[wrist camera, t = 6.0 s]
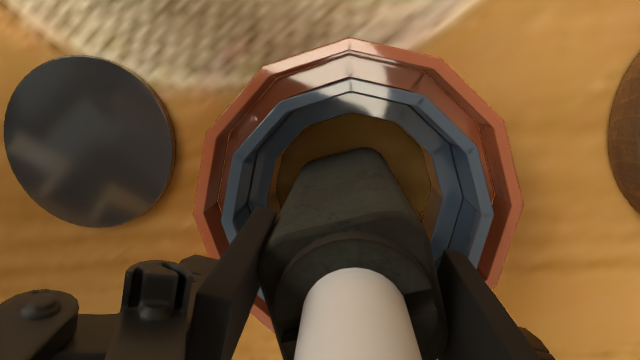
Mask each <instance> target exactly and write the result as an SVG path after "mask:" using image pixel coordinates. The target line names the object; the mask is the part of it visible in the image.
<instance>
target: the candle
mask: <svg viewBox="0 0 640 360" xmlns="http://www.w3.org/2000/svg"><path fill="white" fill-rule="evenodd" d="M257 273H258V279H259V283H260V286H261V290H262V293H263V296H264V299H265V302H266V305H267V309H268V312H269V315H270V318H271V321H272V325H273V328H274V331H275V334H276V337H277V340H278V344H279V347H280V350H281V353H282V356H283V360H437V359H438V358H439V357H440V355H441V354H442V353H443V351H444V350H445V348H446V346H447V343H448V338H449V327H448V321H447V317H446V312H445V308H444V303H443V299H442V295H441V290H440V286H439V281H438V277H437V272H436V268H435V264H434V259H433V255H432V250H431V246H430V241H429V239H428V236H427V233H426V231H425V229H424V227H423V226H422V224H421V222H420V220H419V219H418V217H417V215H416V214H415V212H414V210H413V208H412V207H411V205H410V203H409V201H408V200H407V198H406V196H405V194H404V193H403V191H402V189H401V188H400V186H399V184H398V182H397V181H396V179H395V177H394V175H393V174H392V172H391V170H390V168H389V167H388V165H387V163H386V161H385V160H384V158H383V157H382V155H381V154H380V153H379V152H377V151H376V150H374V149H371V148H359V149H355V150H351V151H347V152H343V153H340V154H336V155H332V156H328V157H324V158H320V159H316V160H313V161H310V162H308V163H307V164H305V165H304V166H303V167H302V169H301V170H300V172H299V174H298V177H297V179H296V181H295V183H294V185H293V187H292V189H291V191H290V193H289V195H288V198H287V200H286V202H285V204H284V206H283V208H282V210H281V212H280V214H279V216H278V218H277V221H276V223H275V225H274V227H273V229H272V231H271V233H270V235H269V237H268V239H267V242H266V244H265V246H264V248H263V250H262V252H261V255H260V257H259V261H258V267H257Z"/></svg>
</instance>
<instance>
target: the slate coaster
mask: <svg viewBox="0 0 640 360" xmlns="http://www.w3.org/2000/svg"><path fill="white" fill-rule="evenodd" d="M4 142H5V149H6V153H7V157H8V160H9V163H10V165H11V168H12V170H13V172H14V174H15V176H16V178H17V180H18V181H19V183H20V184H21V186H22V187H23V189H24V190H25V191H26V192H27V193H28V195H29V196H30V197H31V198H32V199H33V200H34V201H35V202H36V203H37V204H38V205H40V206H41V207H42V208H43V209H45V210H46V211H48V212H49V213H51V214H52V215H54V216H56V217H58V218H60V219H62V220H64V221H67V222H69V223H72V224H76V225H79V226H85V227H94V228H103V227H112V226H117V225H121V224H124V223H127V222H129V221H131V220H133V219H135V218H137V217H139V216H140V215H142V214H143V213H145V212H146V211H147V210H149V209H150V208H151V207H152V206H153V205H154V204H155V203H156V202H157V201H158V200H159V199H160V197H161V196H162V195H163V193H164V192H165V190H166V188H167V186H168V184H169V182H170V179H171V176H172V174H173V169H174V165H175V155H176V148H175V137H174V132H173V128H172V124H171V121H170V118H169V116H168V114H167V111H166V109H165V107H164V106H163V104H162V102H161V101H160V99H159V97H158V96H157V95H156V93H155V92H154V91H153V90H152V88H151V87H150V86H149V85H148V84H147V83H146V82H145V81H144V80H143V79H141V78H140V77H139V76H138V75H136V74H135V73H134V72H132V71H131V70H129V69H127V68H126V67H124V66H122V65H120V64H118V63H116V62H113V61H110V60H107V59H104V58H100V57H93V56H86V55H71V56H63V57H59V58H56V59H52V60H50V61H48V62H45V63H43V64H41V65H40V66H38V67H37V68H35V69H34V70H32V71H31V72H30V73H29V74H28V75H27V76H25V77H24V79H23V80H22V81H21V82H20V83H19V85H18V86H17V87H16V89H15V91H14V92H13V94H12V96H11V99H10V101H9V103H8V106H7V110H6V114H5V120H4Z"/></svg>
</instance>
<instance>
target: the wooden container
mask: <svg viewBox="0 0 640 360" xmlns="http://www.w3.org/2000/svg"><path fill="white" fill-rule="evenodd" d="M608 145H609V156H610V161H611V165H612V169H613V172H614V175H615V178H616V180H617V183H618V185H619V187H620V189H621V191H622V192H623V194H624V195H625V197H626V198H627V200H628V201H629V202H630V204H631V205H632V206H633V207H634V208H635V209H636V210H637V211H638V212H639V213H640V53H639V54H638V56H637V57H636V59H635V60H634V62H633V63H632V65H631V66H630V68H629V70H628V71H627V73H626V75H625V77H624V79H623V81H622V83H621V85H620V87H619V90H618V92H617V95H616V97H615V100H614V103H613V107H612V112H611V116H610V122H609V135H608Z"/></svg>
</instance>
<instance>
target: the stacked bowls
mask: <svg viewBox="0 0 640 360" xmlns="http://www.w3.org/2000/svg"><path fill="white" fill-rule="evenodd" d="M348 54H349V55H348ZM350 54H351V55H350ZM345 55H346V56H345ZM342 56H343V57H342ZM359 56H360V57H359ZM339 57H340V58H339ZM363 57H364V58H363ZM368 58H369V59H368ZM372 59H373V60H372ZM377 60H378V61H377ZM381 61H382V62H381ZM390 63H391V64H390ZM394 64H395V65H394ZM399 65H400V66H399ZM403 66H404V67H403ZM308 67H309V68H308ZM305 68H306V69H305ZM412 68H413V69H412ZM302 69H303V70H302ZM416 69H417V70H416ZM299 70H300V71H299ZM421 70H422V71H421ZM296 71H297V72H296ZM424 71H425V72H426V73H427V74H428V75H429V76H430V77H431V78H432V79H433V80H434V81H435V82H436V83H437V84H436V83H435V82H434V81H433V80H432V79H431V78H430V77H429V76H428V75H427V74H426V73H425V72H424ZM293 72H294V73H293ZM290 73H291V74H290ZM287 74H288V75H287ZM284 75H285V76H284ZM281 76H282V77H281ZM278 77H279V78H278ZM276 78H277V79H276ZM349 78H350V79H349ZM272 83H273V84H272ZM271 84H272V85H271ZM330 84H331V85H330ZM270 85H271V86H270ZM327 85H328V86H327ZM324 86H325V87H324ZM321 87H322V88H321ZM265 91H266V92H265ZM264 92H265V93H264ZM263 93H264V94H263ZM302 93H303V94H302ZM299 94H300V95H299ZM296 95H297V96H296ZM259 98H260V99H259ZM258 99H259V100H258ZM257 100H258V101H257ZM458 104H459V105H460V106H461V107H462V108H463V109H464V110H465V111H466V112H467V113H468V114H469V115H470V116H471V117H472V118H473V119H474V120H475V121H476V122H477V123H478V124H477V123H476V122H475V121H474V120H473V119H472V118H471V117H470V116H469V115H468V114H467V113H466V112H465V111H464V110H463V109H462V108H461V107H460V106H459V105H458ZM252 106H253V107H252ZM410 106H411V107H412V108H413V109H414V110H415V111H416V112H415V111H414V110H413V109H412V108H411V107H410ZM251 107H252V108H251ZM250 108H251V109H250ZM291 112H292V113H291ZM246 113H247V114H246ZM348 113H356V114H360V115H365V116H369V117H373V118H378V119H382V120H387V121H391V122H395V123H396V124H397V125H398V126H399V127H401V128H402V129H403V130H404V131H405V132H406V133H407V134H408V135H409V136H410V137H411V138H412V139H413V140H414V141H415V142H416V143H417V144H418V145H419V146H421V148H422V151H423V155H424V159H425V162H426V166H427V170H428V174H429V177H430V181H431V185H432V188H431V191H430V195H429V198H428V202H427V205H426V208H425V212H424V215H423V219H422V222H421V224H422V226H423V227H424V229H425V231H426V233H427V236H428V239H429V241H430V246H431V250H432V255H433V259H434V264H435V268H436V272H437V271H438V267H439V264H440V261H441V258H442V254H443V251H444V249H445V250H450V251H454V252H458V253H463V254H465V255H466V256H467V258H468V259H469V260H470V262H471V263H472V264H473V266H474V267H475V269H476V270H477V271H478V273H479V274H480V275H481V277H482V278H483V280H484V281H485V282H486V284H487V285H488V286H489V288H490V289H492V288H493V287H494V286H495V285H497V282H498V280H499V277H500V274H501V271H502V268H503V265H504V262H505V259H506V256H507V253H508V250H509V247H510V244H511V241H512V238H513V235H514V232H515V229H516V226H517V223H518V220H519V217H520V215H521V212H522V209H523V200H522V196H521V192H520V187H519V183H518V179H517V174H516V170H515V166H514V161H513V157H512V153H511V149H510V144H509V140H508V136H507V131H506V127H505V123H504V120H503V119H502V118H501V117H500V116H499V115H498V114H497V113H496V112H495V111H493V110H492V109H491V108H490V107H489V106H488V105H487V104H486V103H485V102H484V101H483V100H482V99H481V98H480V97H479V96H478V95H477V94H476V93H475V92H474V91H473V90H472V89H471V88H470V87H469V86H468V85H467V84H466V83H465V82H464V81H463V80H462V79H461V78H460V77H459V76H458V75H457V74H456V73H455V72H454V71H453V70H452V69H451V68H450V67H449V66H448V65H447V64H446V63H445V62H444V61H443V60H442V59H441V58H439V57H435V56H430V55H426V54H422V53H417V52H413V51H408V50H404V49H400V48H395V47H391V46H386V45H382V44H377V43H373V42H369V41H364V40H360V39H355V38H351V37H348V38H345V39H342V40H339V41H336V42H333V43H330V44H327V45H324V46H321V47H318V48H315V49H312V50H309V51H306V52H303V53H300V54H297V55H294V56H291V57H288V58H285V59H282V60H279V61H276V62H273V63H270V64H267V65H264V66H262V67H261V69H260V70H259V71H258V72H257V73H256V74H255V76H254V77H253V78H252V79H251V80H250V81H249V83H248V84H247V85H246V86H245V87H244V88H243V90H242V91H241V92H240V93H239V94H238V96H237V97H236V98H235V99H234V100H233V101H232V103H231V104H230V105H229V106H228V107H227V108H226V110H225V111H224V112H223V113H222V114H221V115H220V117H219V118H218V119H217V120H216V121H215V123H214V124H213V125H212V126H211V127H210V128H209V130H208V131H207V132H206V136H205V142H204V148H203V155H202V161H201V167H200V173H199V179H198V185H197V191H196V197H195V203H194V209H193V216H194V219H195V221H196V224H197V226H198V229H199V232H200V234H201V237H202V239H203V242H204V245H205V247H206V250H207V253H208V255H209V258H213V259H217V260H219V259H220V258H221V256H222V255H223V254H224V252H225V251H226V249H227V248H228V246H229V245H230V243H231V242H232V241H233V239H234V238H235V236H236V235H237V233H238V232H239V231H240V229H241V228H242V226H243V225H244V223H245V222H246V221H247V219H248V218H249V216H250V215H251V213H252V212H253V211H254V209H255V208H256V207H261V208H265V209H269V210H274V211H277V214H276V219H275V223H276V221H277V218H278V216H279V214H280V212H281V210H282V209H281V206H280V203H279V200H278V197H277V195H276V192H275V190H276V185H277V180H278V175H279V170H280V165H281V160H282V155H283V152H284V151H285V150H286V149H287V147H288V146H289V145H290V144H291V143H292V142H293V141H294V140H295V139H296V138H297V136H298V135H299V134H300V133H301V132H302V131H303V130H304V129H305V128H306V127H307V126H309V125H312V124H316V123H319V122H322V121H325V120H328V119H332V118H335V117H338V116H341V115H344V114H348ZM245 114H246V115H245ZM244 115H245V116H244ZM239 121H240V122H239ZM283 121H284V122H283ZM238 122H239V123H238ZM282 122H283V123H282ZM237 123H238V124H237ZM478 125H479V128H478ZM233 128H234V129H233ZM232 129H233V130H232ZM479 129H480V132H479ZM231 130H232V131H231ZM275 130H276V131H275ZM274 131H275V132H274ZM436 131H437V132H438V133H439V134H440V135H441V136H442V137H441V136H440V135H439V134H438V133H437V132H436ZM229 133H230V135H229ZM480 133H481V136H480ZM228 137H229V141H228ZM481 137H482V140H481ZM267 139H268V140H267ZM266 140H267V141H266ZM482 141H483V145H484V149H483V145H482ZM227 143H228V146H227ZM449 144H450V145H449ZM450 147H451V149H450ZM226 148H227V152H226ZM258 149H259V150H258ZM484 150H485V153H484ZM257 151H258V152H257ZM451 151H452V153H451ZM225 154H226V158H225ZM256 154H257V156H256ZM485 154H486V157H485ZM452 155H453V157H452ZM453 158H454V160H453ZM486 158H487V161H486ZM255 159H256V162H255ZM224 160H225V163H224ZM454 162H455V164H454ZM487 162H488V165H487ZM254 164H255V167H254ZM223 166H224V169H223ZM455 166H456V168H455ZM488 166H489V169H488ZM253 170H254V172H253ZM456 170H457V172H456ZM489 170H490V173H489ZM222 171H223V175H222ZM457 174H458V176H457ZM490 174H491V177H490ZM252 175H253V177H252ZM221 177H222V180H221ZM458 178H459V180H458ZM491 178H492V181H491ZM251 180H252V182H251ZM459 182H460V184H459ZM492 182H493V186H492ZM220 183H221V186H220ZM250 185H251V188H250ZM460 186H461V188H460ZM493 187H494V190H493ZM219 188H220V192H219ZM249 190H250V193H249ZM494 191H495V197H494ZM218 194H219V197H218ZM248 196H249V197H248ZM493 197H494V200H493ZM217 200H218V202H217ZM492 200H493V203H492ZM218 203H219V205H220V208H221V210H220V208H219V205H218ZM491 203H492V204H491ZM221 211H222V213H221ZM274 225H275V224H274ZM250 313H251V314H252V315H254V316H255V317H256V318H257V319H258V320H259V321H261V322H262V323H263V324H264V325H265V326H266V327H268V328H269V329H270V330H271V331H272V332H273V333H275V331H274V328H273V325H272V321H271V318H270V315H269V312H268V309H267V305H266V302H265V299H264V296H263V293H262V290H261V286H260V289H259V291H258V294H257V296H256V299H255V301H254V304H253V306H252V309H251V311H250Z"/></svg>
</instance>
